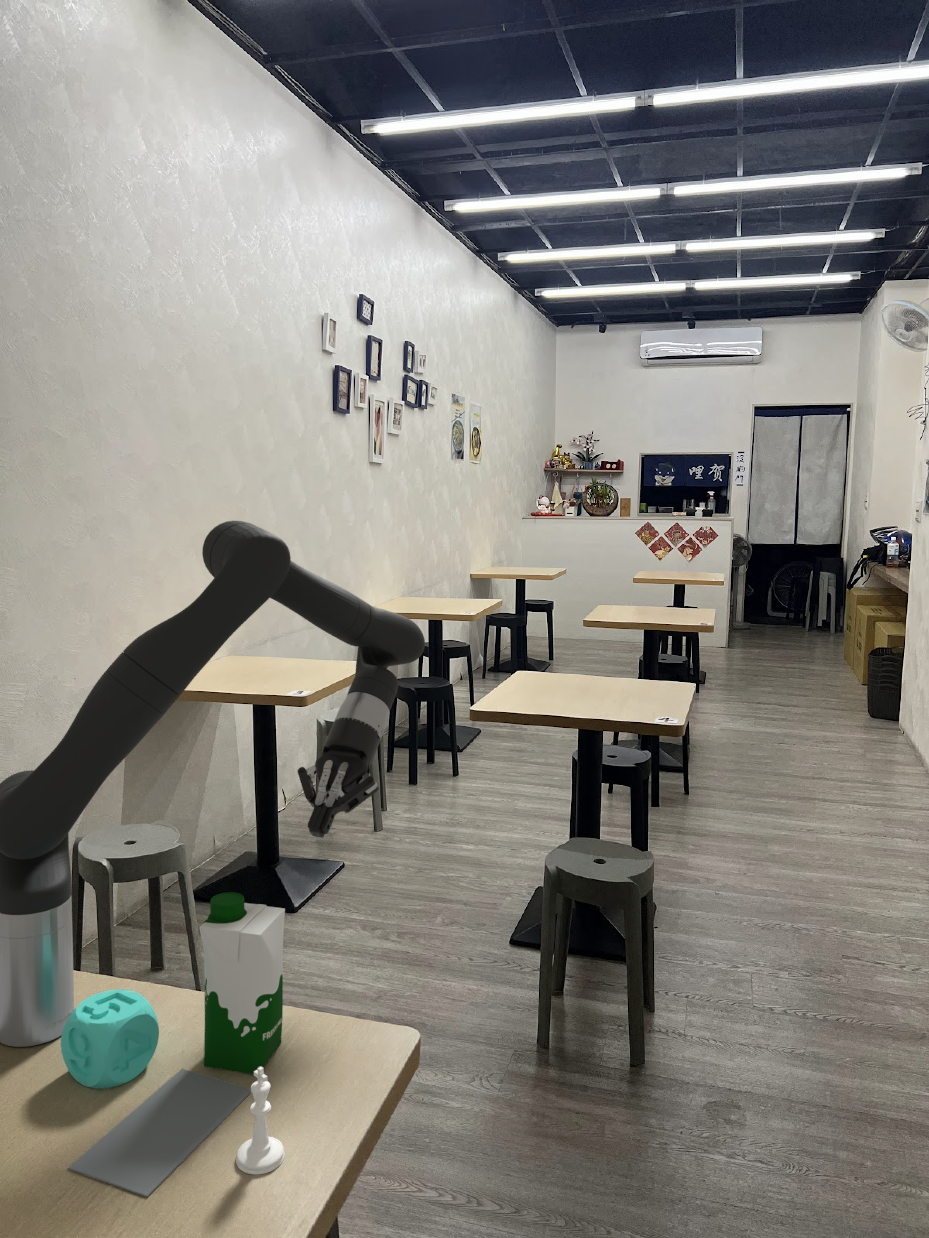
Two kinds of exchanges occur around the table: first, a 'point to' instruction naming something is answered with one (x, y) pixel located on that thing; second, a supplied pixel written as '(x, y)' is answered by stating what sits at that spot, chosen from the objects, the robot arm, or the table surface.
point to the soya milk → (242, 983)
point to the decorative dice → (109, 1038)
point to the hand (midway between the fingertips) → (315, 834)
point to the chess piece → (260, 1134)
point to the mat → (161, 1132)
